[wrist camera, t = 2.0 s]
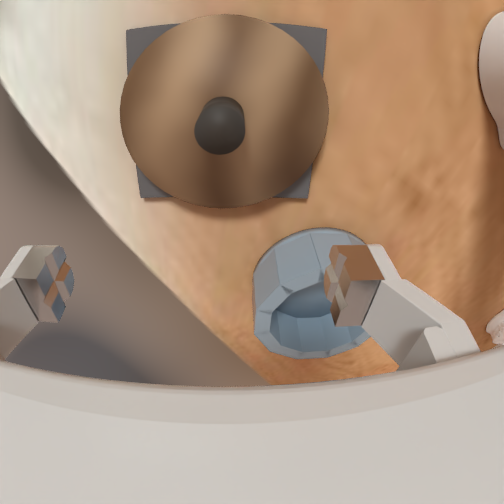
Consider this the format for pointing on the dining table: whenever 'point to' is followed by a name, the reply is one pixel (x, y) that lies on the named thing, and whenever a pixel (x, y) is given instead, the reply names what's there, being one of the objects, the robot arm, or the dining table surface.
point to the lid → (224, 111)
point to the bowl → (300, 297)
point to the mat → (303, 35)
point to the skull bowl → (497, 328)
